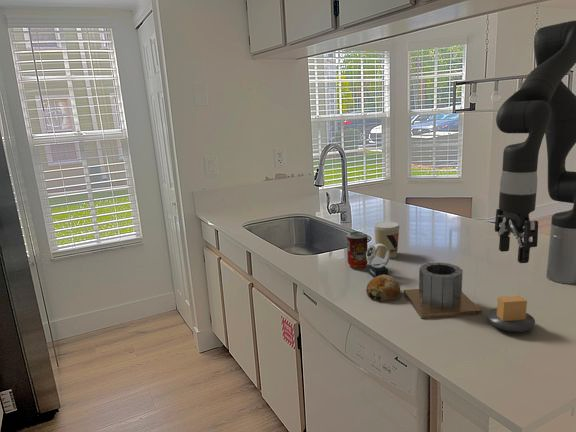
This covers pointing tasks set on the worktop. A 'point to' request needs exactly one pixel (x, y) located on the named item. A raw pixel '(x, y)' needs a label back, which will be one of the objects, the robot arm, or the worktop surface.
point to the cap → (511, 315)
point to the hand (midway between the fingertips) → (513, 256)
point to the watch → (377, 268)
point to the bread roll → (383, 288)
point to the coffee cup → (386, 238)
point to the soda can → (357, 250)
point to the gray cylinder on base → (440, 292)
